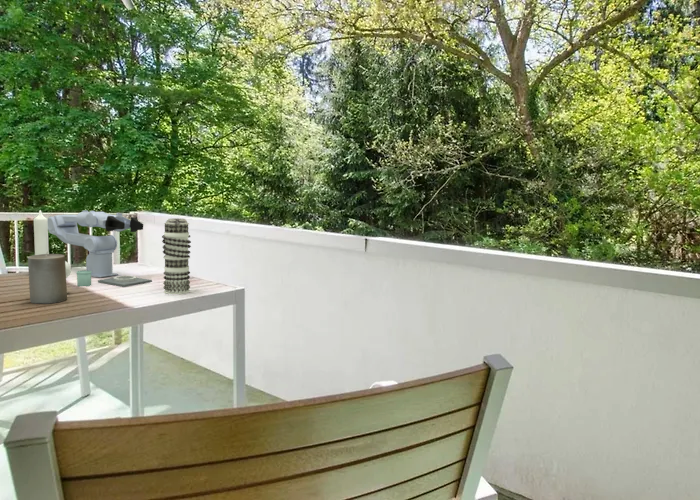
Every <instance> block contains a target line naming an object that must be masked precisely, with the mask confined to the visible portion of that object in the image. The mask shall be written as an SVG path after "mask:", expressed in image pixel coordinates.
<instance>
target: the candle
mask: <svg viewBox="0 0 700 500" xmlns="http://www.w3.org/2000/svg"><path fill="white" fill-rule="evenodd" d="M33 233H34V234H33V237H34V238H33V239H34V242H33V243H34V255H40V254H46V253H47V252H48V253H47V254H50V251H49V247H50V246H49V230H48V217H46V216H44V214H43V212H42V210H41V209H40V210H39V211H38V215H37V216H36V217H34V218H33Z"/></svg>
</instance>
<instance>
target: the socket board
mask: <svg viewBox="0 0 700 500" xmlns="http://www.w3.org/2000/svg"><path fill="white" fill-rule="evenodd" d="M152 282H153V280H152V279H148V278H141V277H137V276H135V275H116V276H114V277H111V278H103V279H98V280H97V283H98V284H106V285H109V286H110V285H112V286H115V285H116V287H121V286H122V288H127V287H132V286H137V285H144V284H147V283H148V284H149V283H152Z"/></svg>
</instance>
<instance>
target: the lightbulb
mask: <svg viewBox="0 0 700 500" xmlns="http://www.w3.org/2000/svg"><path fill="white" fill-rule="evenodd" d="M65 267H66V279H68V278H69V276H70V274H71V272H72V266H71V264H70V263H69V262H68V261H66V260H65Z"/></svg>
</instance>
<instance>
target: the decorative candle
mask: <svg viewBox="0 0 700 500" xmlns="http://www.w3.org/2000/svg"><path fill="white" fill-rule="evenodd" d="M163 224H164V232H163V233H164V235H161V238H162V240H161V242H162V244H164V245H162V249H163V250H162V253H163V255H164V256H163V260H164V267H163V268H164V272H163V275H164V276H163V279H164V281H163V285H164V286H163V289H164V291H163V293H164V294H167V295H185V294H188V293H190V292H191V290H190V288H191V286H190V284H191V280H189V279H190V278H191V276H190V274H191V272H190V266H189V259H191V255H190V254H191V251H190V250H189V249H190V248H192V246H191V245H190V243H192V241H191V240H190V239H189V238H191V235H190V232H189V225H190V223H189V222H188V221H187V219H185V218H178V217H177V218H172V217H171V218H168V219H167V220H166V221H165V222H164V223H163Z"/></svg>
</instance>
